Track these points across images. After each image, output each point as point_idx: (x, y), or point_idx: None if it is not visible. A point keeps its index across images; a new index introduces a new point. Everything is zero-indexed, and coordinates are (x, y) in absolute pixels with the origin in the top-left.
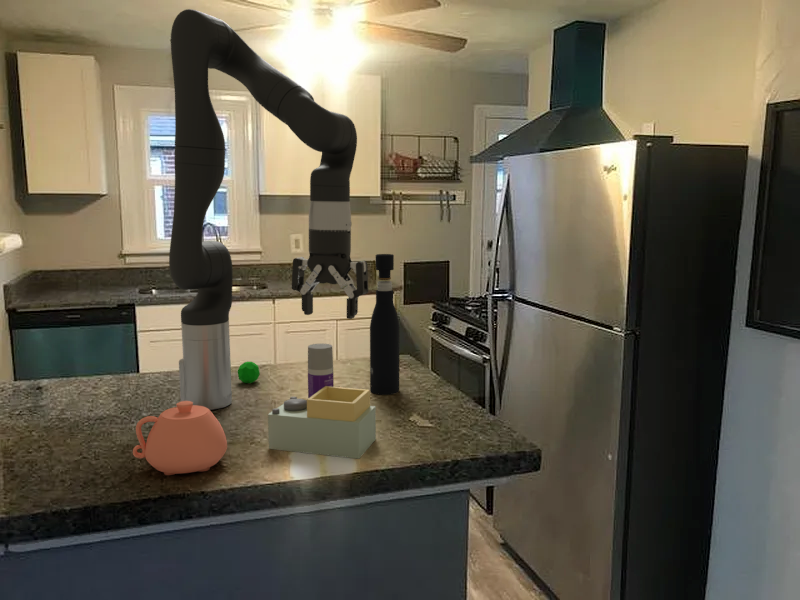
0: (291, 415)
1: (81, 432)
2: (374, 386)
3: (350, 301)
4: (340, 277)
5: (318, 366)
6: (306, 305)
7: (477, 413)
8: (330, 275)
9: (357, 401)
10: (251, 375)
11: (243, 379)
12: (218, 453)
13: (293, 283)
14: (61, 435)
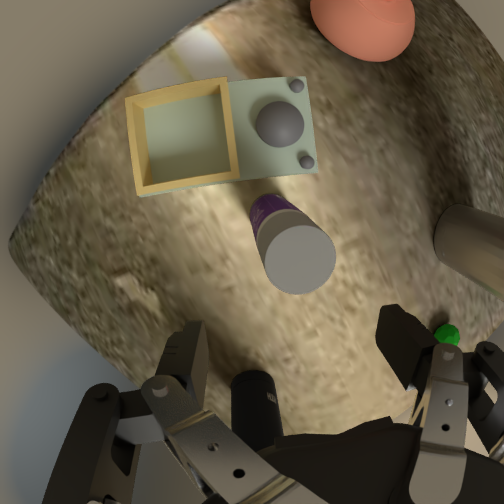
0: (261, 84)
1: (496, 105)
2: (261, 378)
3: (172, 367)
4: (210, 472)
5: (280, 215)
6: (403, 321)
7: (95, 342)
8: (321, 481)
9: (126, 116)
10: (441, 332)
11: (446, 324)
12: (311, 5)
13: (502, 357)
14: (501, 95)
